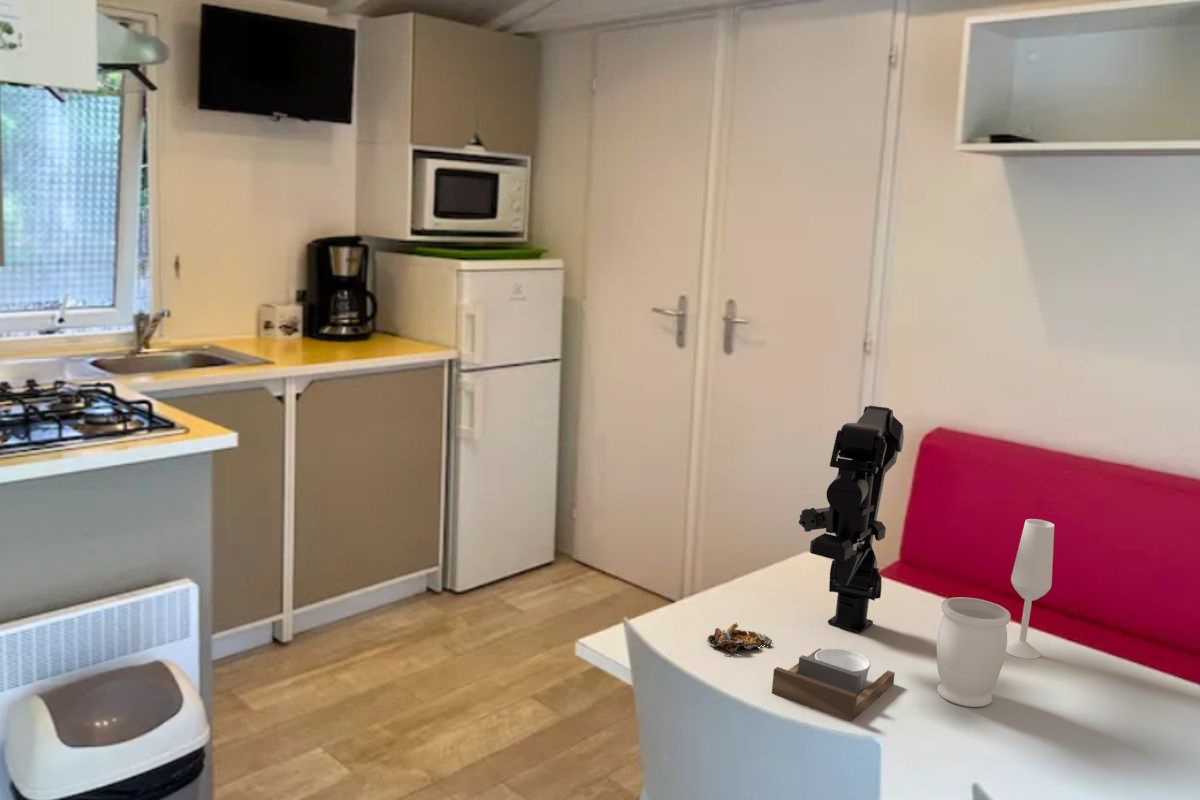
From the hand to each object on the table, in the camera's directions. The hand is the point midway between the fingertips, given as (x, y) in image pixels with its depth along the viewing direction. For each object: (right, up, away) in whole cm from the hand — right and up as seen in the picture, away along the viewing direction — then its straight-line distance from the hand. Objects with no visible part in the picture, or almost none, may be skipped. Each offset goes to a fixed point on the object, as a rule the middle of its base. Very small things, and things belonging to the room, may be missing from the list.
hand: (843, 585), depth 181 cm
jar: (+17, -16, -13) cm, 26 cm away
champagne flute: (+34, -13, +7) cm, 37 cm away
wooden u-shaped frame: (-4, -14, -12) cm, 19 cm away
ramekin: (-3, -14, -11) cm, 18 cm away
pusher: (-6, -14, -15) cm, 22 cm away
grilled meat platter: (-18, -11, +2) cm, 21 cm away
